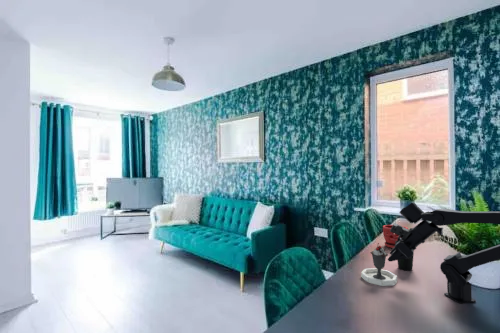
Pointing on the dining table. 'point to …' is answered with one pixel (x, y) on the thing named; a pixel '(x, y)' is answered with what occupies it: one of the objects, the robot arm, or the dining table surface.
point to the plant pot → (390, 236)
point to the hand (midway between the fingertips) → (389, 257)
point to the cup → (405, 263)
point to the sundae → (379, 261)
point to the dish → (389, 281)
